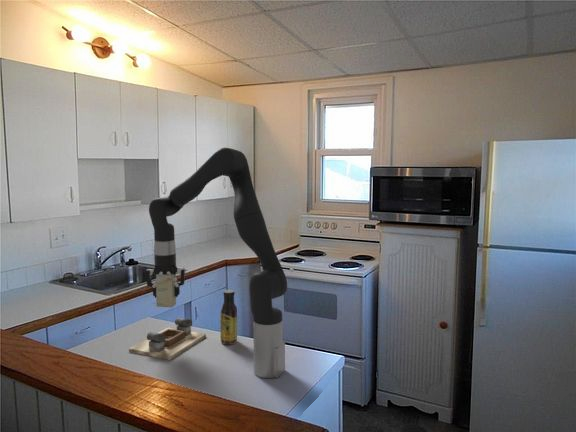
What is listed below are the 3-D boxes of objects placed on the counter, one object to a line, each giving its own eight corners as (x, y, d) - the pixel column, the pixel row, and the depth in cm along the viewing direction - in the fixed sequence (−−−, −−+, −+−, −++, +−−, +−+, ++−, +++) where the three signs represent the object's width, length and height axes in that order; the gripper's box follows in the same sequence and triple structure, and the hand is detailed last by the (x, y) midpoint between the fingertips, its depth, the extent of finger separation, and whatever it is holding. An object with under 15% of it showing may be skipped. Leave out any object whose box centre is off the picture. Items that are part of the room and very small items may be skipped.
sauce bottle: (217, 342, 169) (215, 290, 167) (230, 337, 174) (229, 287, 171) (227, 347, 165) (226, 294, 162) (241, 342, 169) (240, 290, 167)
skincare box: (156, 307, 164) (155, 274, 162) (160, 303, 168) (159, 271, 166) (173, 307, 163) (172, 275, 162) (177, 303, 168) (176, 271, 166)
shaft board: (205, 336, 174) (205, 319, 173) (170, 359, 154) (169, 339, 153) (168, 330, 181) (167, 313, 180) (128, 351, 161) (127, 332, 160)
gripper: (186, 249, 168) (187, 293, 170) (146, 250, 166) (148, 294, 168) (184, 254, 160) (185, 299, 162) (142, 255, 158) (144, 300, 161)
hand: (166, 296), depth 165 cm, fingers closed on skincare box, 6 cm apart
